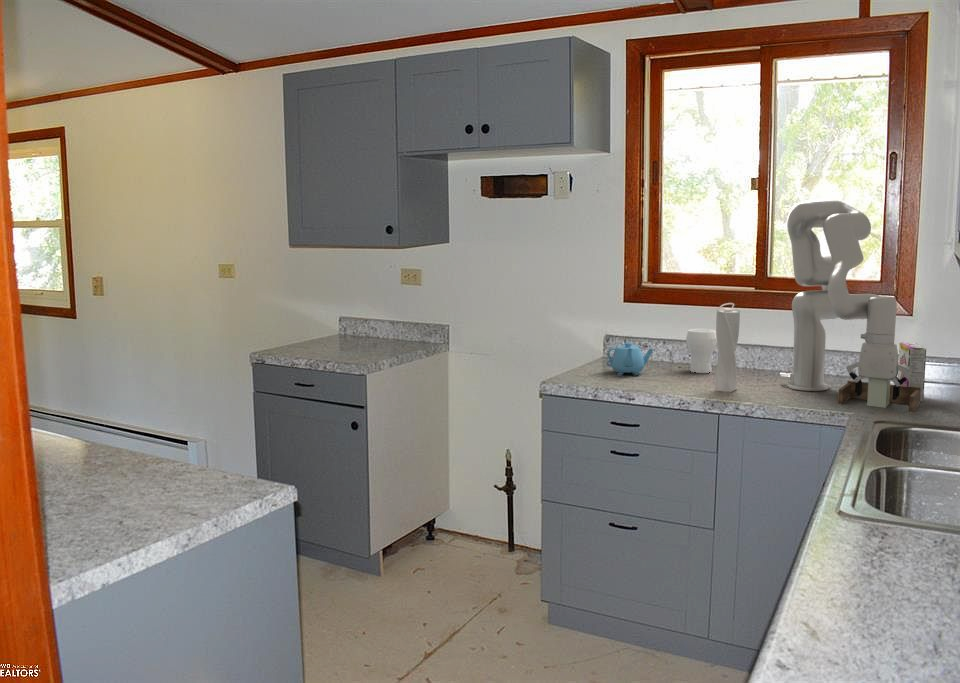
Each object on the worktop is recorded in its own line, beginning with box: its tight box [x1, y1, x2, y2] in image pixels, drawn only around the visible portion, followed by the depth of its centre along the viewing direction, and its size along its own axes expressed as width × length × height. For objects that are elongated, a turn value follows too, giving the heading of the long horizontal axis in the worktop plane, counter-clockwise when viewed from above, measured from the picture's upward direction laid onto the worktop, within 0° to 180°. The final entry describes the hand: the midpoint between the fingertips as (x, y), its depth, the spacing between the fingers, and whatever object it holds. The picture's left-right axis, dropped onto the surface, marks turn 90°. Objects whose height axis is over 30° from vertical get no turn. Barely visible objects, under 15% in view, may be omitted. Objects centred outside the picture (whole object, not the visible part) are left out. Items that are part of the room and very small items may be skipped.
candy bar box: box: [897, 341, 927, 403], centre depth 257 cm, size 11×5×16 cm, turn 168°
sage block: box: [866, 378, 891, 408], centre depth 249 cm, size 5×5×8 cm
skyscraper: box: [714, 302, 741, 393], centre depth 272 cm, size 8×8×28 cm
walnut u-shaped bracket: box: [837, 380, 921, 413], centre depth 250 cm, size 20×12×5 cm, turn 54°
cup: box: [685, 328, 717, 374], centre depth 305 cm, size 11×11×15 cm
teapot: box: [606, 341, 654, 376], centre depth 304 cm, size 15×14×11 cm
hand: (876, 397), depth 247 cm, fingers open, 9 cm apart
